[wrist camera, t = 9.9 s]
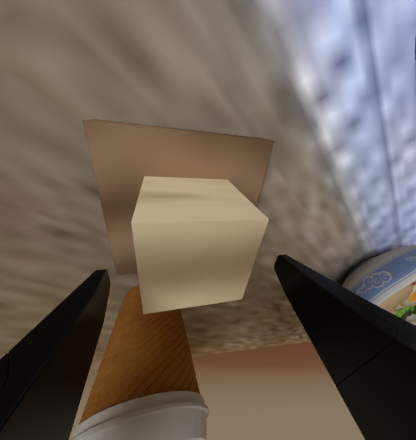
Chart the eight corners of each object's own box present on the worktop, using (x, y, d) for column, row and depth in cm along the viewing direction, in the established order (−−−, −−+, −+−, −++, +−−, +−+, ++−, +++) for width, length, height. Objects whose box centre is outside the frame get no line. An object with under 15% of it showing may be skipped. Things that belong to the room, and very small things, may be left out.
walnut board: (233, 250, 20) (240, 263, 18) (121, 258, 17) (116, 274, 15) (260, 138, 14) (274, 141, 12) (94, 119, 11) (82, 119, 9)
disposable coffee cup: (91, 312, 20) (21, 511, 10) (138, 260, 17) (106, 451, 7) (160, 327, 25) (160, 472, 15) (204, 287, 22) (239, 427, 12)
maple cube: (216, 242, 16) (241, 299, 11) (149, 245, 14) (143, 314, 9) (227, 179, 13) (268, 219, 8) (144, 176, 11) (131, 222, 7)
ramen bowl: (462, 195, 25) (576, 224, 18) (395, 288, 37) (447, 326, 31) (309, 243, 22) (373, 298, 16) (292, 325, 35) (323, 376, 28)
